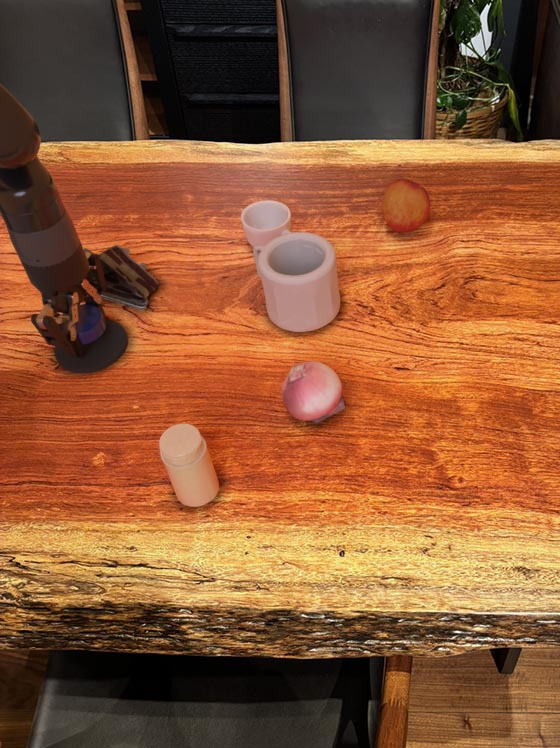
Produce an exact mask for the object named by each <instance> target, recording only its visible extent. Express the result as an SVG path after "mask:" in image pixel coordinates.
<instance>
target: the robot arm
mask: <svg viewBox="0 0 560 748" xmlns="http://www.w3.org/2000/svg"><path fill="white" fill-rule="evenodd" d="M40 132H41V131H40V129H39V125H38V124H37V122H36V120H35V118H34V117H33V115H31V113H30V112H29V111H28V110H27V109H26V108H25V107H24V106H23V105H22V104H21V103H20V102H19V101H18V100H17V99H16V97H14V95H12V94H11V92H9V90H7V88H5V86H3V85H2V84H1V83H0V216H1V218H2V220H3V223H4V224H5V226H6V230H7V233H8V236H9V239H10V241H11V244H12V247H13V248H14V251H15V253H16V255H17V257H18V259H19V261H20V263H21V265H22V267H23V270H24V272H25V274H26V275H27V278H28V280H29V283H31V285H32V286H33V287H34V288H35V289H37V291H38V292H39V293H40V295H41V303H42V306H43V307H42V309H41V311H40V312H39V313H33V314H32V315H31V316H30V322H31V324H32V325H33V326H34V328H35V329H36V330H37V331H38V333H39V334H40V336H41V337H42V339H43V340H44V341H45V343H46V344H47V345H49V346H54V347H55V346H60V347H64V349H65V351H66V353H67V355H68V356H71V357H77V358H83V357H84V355H85V351H84V349H83V346H82V344H81V342H80V340H79V337H78V336H77V333H76V323H78V321H79V318H78V307H79V305H81V304H82V303H83V302H84V304H90V305H94V306H96V307H98V308H99V309H100V311H101V313H102V314H103V316H104V319H105V323H106V322H107V320H106V319H107V317H106V312H105V310H104V308H103V305H102V302H103V298H102V296H101V293H102V292H105V291H106V289H107V285H106V281H105V277H104V273H103V269H102V265H101V261H100V257H99V255H98V254H99V253H94V252H93V253H94V254H93V253H88V252H84V248H83V244H82V242H81V238H80V237H79V234H78V232H77V229H76V226H75V224H74V222H73V220H72V218H71V216H70V214H69V212H68V211H67V209H66V207H65V205H64V202H63V200H62V197H61V194H60V192H59V189H58V187H57V185H56V182H55V180H54V178H53V177H52V174H51V173H50V172H49V170H48V169H47V168H46V166H45V165H44V164H43V163H42V162H41V160H40V158H39V157H38V154H39V152H40V149H41V140H42V139H41V133H40ZM93 278H96V279H97V283H96V282H93ZM63 313H65V314H69V316H63V315H62V314H63ZM63 324H64V325H67V328H68V331H65V330H63Z"/></svg>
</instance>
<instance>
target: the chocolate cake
mask: <svg viewBox="0 0 560 748" xmlns="http://www.w3.org/2000/svg"><path fill="white" fill-rule="evenodd" d="M83 249H84V252H88V253H93V254H95V253H94V252H93V251H91V250H90V249H89V248H87V247H84V248H83ZM130 253H131V250H130V248H123V247H122V246H121V245H119V244H115V245H113V246H112V247H109V248H107V249H106V250H103V251H102V252H100V253H97V254H98V255H99V257H100V261H101V265H102V269H103V273H104V277H105V281H106V285H107V289H106V291H105V292H102V293H101V296H102V300H103V299H104V300H107V301H110V302H113V303H116V304H119V305H120V304H121V305H124V306H128V307H131V308H134V309H137V310H141V311H143V310H145V309H146V308H147V307H148V306H147V305H148V302H149V298H148V297H149V295H152V294H153V293H154V292H155V291H157V289H159V288H160V285H159V281H158V280H157V279H156V278H155V276H153V275H152V274H151V273H150V272H149V271H148V270H147V266H148V265H147V264H146V263H144V262H141V263H138V262H137V260H135V259H134V258H132V257H131V256H130ZM93 282H96V283H97V279H96V278H93Z"/></svg>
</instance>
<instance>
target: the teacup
mask: <svg viewBox="0 0 560 748" xmlns="http://www.w3.org/2000/svg"><path fill="white" fill-rule="evenodd" d="M240 222H241V223H240V224H241V227H242V230H243V233H244V237H245V239H246V241H247V243H248V244H249V245H250V246H251V247H252V248H253V247H254V246H256V245H260V246H265V245H266V244H267V243H268V242H269V241H271V240H272V239H274V238H276V237H278V236H281V235H284V234H287V233H293V232H292V212H291V210H290V208H289V207H288V206H287V205H286V204H285V203H283V202H280V201H277V200H272V199H270V200H269V199H265V200H259V201H255V202H253V203H251V204H249V205H247V206H246V207H245V208H243V210H242V212H241V214H240Z"/></svg>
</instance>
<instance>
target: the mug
mask: <svg viewBox="0 0 560 748" xmlns="http://www.w3.org/2000/svg"><path fill="white" fill-rule="evenodd" d="M252 253H253V258H254V264H255V268H256V269H255V270H256V273H257V276H258V278H259V279H260V281H261V284H262V288H263V289H262V290H263V294H264V300H265V309H266V312H267V316H268V318H269V319H270V321H271V322H272V323H273V324H274V325H276V327H279V328H281V329H283V330H285V331H290V332H294V333H306V332H312V331H316V330H318V329H322V328H323V327H324V326H327V325H329V323H331V322H332V321H333V320H334V319H335V318H336V317H337V316H338V314H339V311H340V308H341V293H340V288H339V287H340V286H339V275H338V261H337V253H336V250H335V248H334V246H333V244H332V243H331V242H329V240H328V239H326V238H325V237H324V236H321V235H320V234H316V233H312V232H307V231H295V232H294V231H293V232H292V233H287V234H284V235H281V236H278V237H276V238H274V239H272V240H271V241H269V242H268V243H267V244H266V245H265V246H260V245H256V246H254V247H253V246H252Z"/></svg>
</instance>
